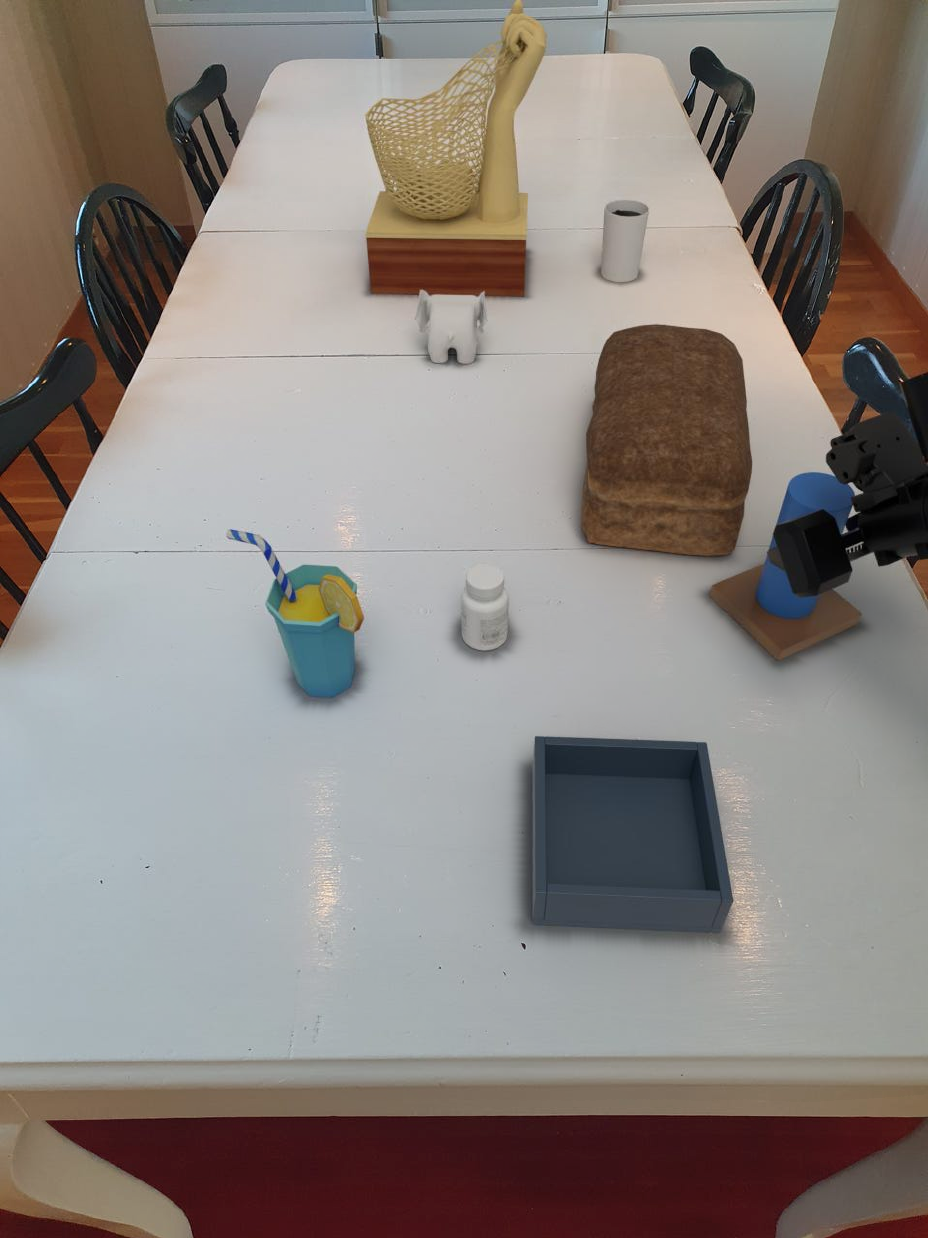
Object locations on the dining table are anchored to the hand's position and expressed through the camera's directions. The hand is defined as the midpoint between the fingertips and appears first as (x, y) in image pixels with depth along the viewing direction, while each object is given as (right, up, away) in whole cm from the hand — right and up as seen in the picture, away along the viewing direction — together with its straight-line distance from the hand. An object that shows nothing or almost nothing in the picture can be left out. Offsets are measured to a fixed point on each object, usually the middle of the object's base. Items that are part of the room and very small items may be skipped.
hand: (808, 540), depth 82 cm
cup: (-45, -12, +2) cm, 46 cm away
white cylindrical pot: (-7, +47, +59) cm, 76 cm away
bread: (-9, +10, +23) cm, 26 cm away
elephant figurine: (-33, +30, +43) cm, 62 cm away
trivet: (0, -6, +7) cm, 9 cm away
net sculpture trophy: (-32, +47, +60) cm, 83 cm away
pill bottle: (-29, -9, +5) cm, 31 cm away
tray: (-19, -25, -11) cm, 33 cm away
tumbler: (0, -5, +6) cm, 8 cm away
